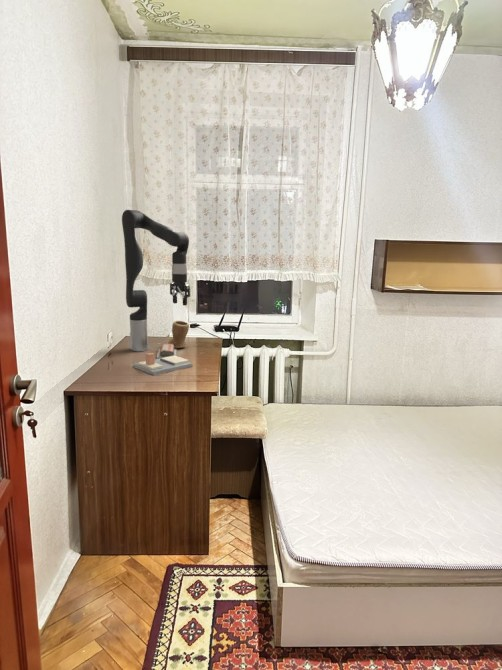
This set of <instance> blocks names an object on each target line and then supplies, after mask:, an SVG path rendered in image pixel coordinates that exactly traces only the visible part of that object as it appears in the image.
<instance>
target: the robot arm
mask: <svg viewBox="0 0 502 670" xmlns="http://www.w3.org/2000/svg"><path fill="white" fill-rule="evenodd" d="M121 224H122V225H121V226H122V232H123V238H124V239H123V240H124V242H123V243H124V263H125V278H126V280H125V284H126V285H125V300H126V306H127V307H128V308H138V309H137V310H136V311H134V312H132V313H130V314H129V328H130V329H129V331H130V332H129V343H130V344H129V345H130V347H129V348H130V350H131V351H133V352H144V351H148V349H149V343H148V337H149V336H148V294H147V291H146V290H144V289H138V290H135V289H134V287H135V282H136V280H137V278H138V276H139V274H140V273H141V271H142V269H143V267H144V254H143V251H142V248H141V247H140V244H139V243H138V240H137V239H136V229H143V230H145V231H149V232H150V233H151V234H152V235H153V237H155V238H156V237H157V238H158V239H160V240H162V241H164V242H165V243H167V244H168V245H170V246H171V247H174V248H176V250H175V251H173V252H172V254H171V255H172V256H171V260H172V261H171V263H172V265H171V282H172V283H171V282H170V283H169V295H171V296H172V303H173V304H177V303H178V294H180V295H181V296H182V306H187V305H188V298H189V297H191V286H190V284H186V283H187V282H188V268H187V267H188V266H187V253H188V250H189V246H190V239H189V238H190V237H189V236H188V234H187V233H186V232H181V231H180V232H177V231H174V230H173V229H172V228H171V227H169V226H167V225H165V224H162V223H160V222H158V221H156V220H154V219H153V218H151V217H149V216H148V215H146V214H145V213H143V212H142V211H140V210H137V209H136V210H135V209H125V210H124V211H123V213H122V215H121Z"/></svg>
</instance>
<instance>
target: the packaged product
mask: <svg viewBox="0 0 502 670" xmlns="http://www.w3.org/2000/svg"><path fill="white" fill-rule="evenodd" d="M177 349H178V348H174V345H173V344H168V343H162V344H161V347H160V348H158V351H157V354H156V359H160V358H164V357H169V356H174V355H175V356H177Z"/></svg>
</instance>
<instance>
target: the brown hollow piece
mask: <svg viewBox="0 0 502 670" xmlns="http://www.w3.org/2000/svg"><path fill="white" fill-rule="evenodd" d="M171 327H172V328H171V333H172V338H170V339H168V343H167V344H173V345H174V349H182V348H183V349H184V348H185V347H186V346H187V345H186V341H185V340H186V337H187V336H188V333H189V330H190V329H189V328H190V324H189V323H188V322H186V321H183V320H174V321H173V322H172V326H171Z"/></svg>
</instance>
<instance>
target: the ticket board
mask: <svg viewBox="0 0 502 670" xmlns="http://www.w3.org/2000/svg"><path fill="white" fill-rule="evenodd" d="M155 363H157V364H160V365H162V366H163V368H158V369H154V370H151V369H149V368H146V367H144V366H141V365H139V364H138V362H135V363H133V364H132V365H133V368H135V369H138V370H139V371H140V370H141V371H143V372H146V373H147V374H149V375H152V376H156V375H160V374H164V373H169V372H172V371H173V372H174V371H177V370H181V369H187V368H190V367H191V366H192V367H193V362H190V361H189V359H188V358H187V359H186V358H183V357H180V356H177V355H176V356H175V355H174V356H169V357H164V358H160V359H157V358H155Z"/></svg>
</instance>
